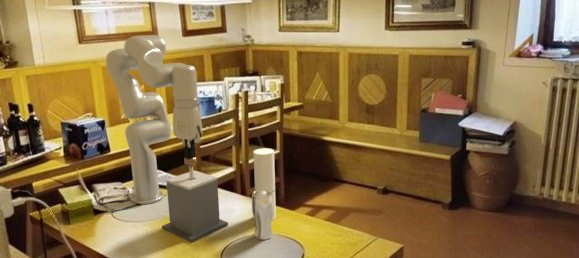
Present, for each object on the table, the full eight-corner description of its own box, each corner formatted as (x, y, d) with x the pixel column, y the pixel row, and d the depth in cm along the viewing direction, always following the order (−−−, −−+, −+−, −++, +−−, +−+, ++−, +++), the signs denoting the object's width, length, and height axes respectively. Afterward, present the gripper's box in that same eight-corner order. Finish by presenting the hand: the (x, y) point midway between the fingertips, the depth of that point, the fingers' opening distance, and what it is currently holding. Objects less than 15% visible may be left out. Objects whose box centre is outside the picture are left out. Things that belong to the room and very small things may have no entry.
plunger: (174, 205, 163) (170, 158, 159) (195, 197, 170) (192, 151, 165) (191, 212, 157) (188, 163, 153) (212, 203, 164) (209, 156, 160)
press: (162, 229, 164) (157, 180, 160) (200, 212, 177) (197, 166, 173) (191, 242, 155) (187, 191, 150) (230, 224, 167) (228, 176, 163)
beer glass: (258, 242, 154) (256, 199, 150) (249, 233, 160) (248, 192, 156) (277, 237, 157) (276, 195, 153) (268, 229, 163) (267, 188, 159)
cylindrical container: (276, 213, 175) (275, 148, 169) (274, 222, 168) (272, 154, 162) (257, 213, 176) (255, 148, 170) (254, 221, 169) (251, 154, 163)
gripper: (162, 103, 156) (167, 156, 161) (192, 108, 147) (196, 164, 151) (181, 99, 162) (185, 151, 166) (210, 104, 153) (214, 158, 157)
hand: (190, 157), depth 159 cm, fingers closed
